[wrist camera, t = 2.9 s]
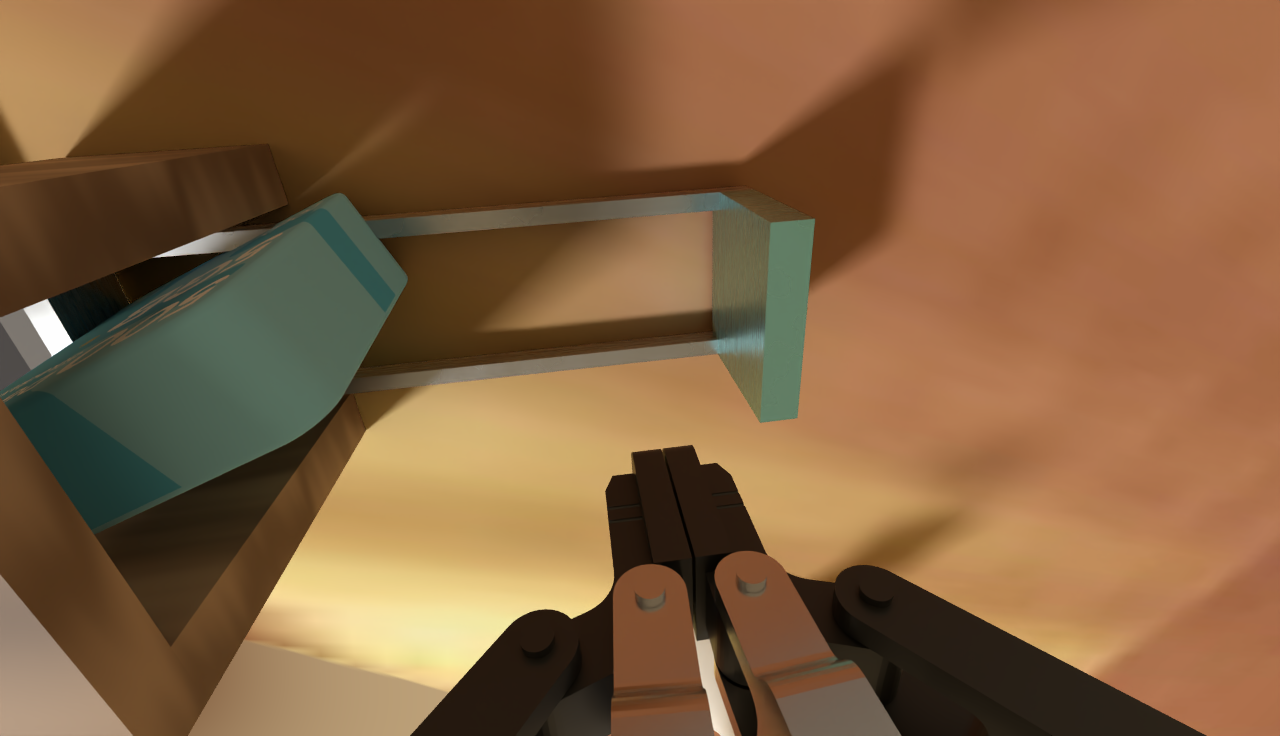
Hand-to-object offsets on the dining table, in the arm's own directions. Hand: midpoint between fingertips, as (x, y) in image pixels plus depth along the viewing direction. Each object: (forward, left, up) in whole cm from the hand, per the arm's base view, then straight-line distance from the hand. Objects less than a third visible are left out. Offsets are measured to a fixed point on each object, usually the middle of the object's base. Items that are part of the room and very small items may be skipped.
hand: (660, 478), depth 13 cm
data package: (-1, -16, -16) cm, 23 cm away
